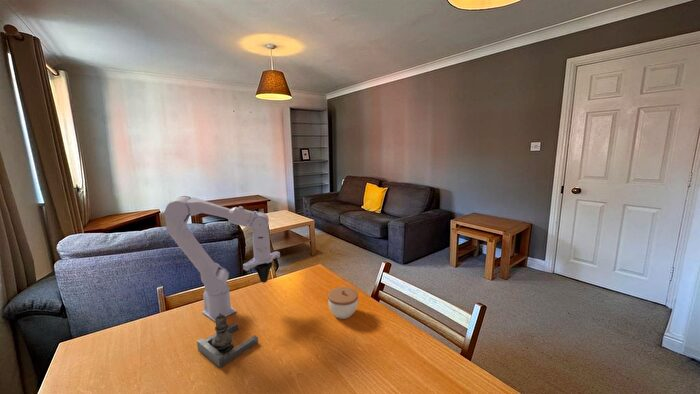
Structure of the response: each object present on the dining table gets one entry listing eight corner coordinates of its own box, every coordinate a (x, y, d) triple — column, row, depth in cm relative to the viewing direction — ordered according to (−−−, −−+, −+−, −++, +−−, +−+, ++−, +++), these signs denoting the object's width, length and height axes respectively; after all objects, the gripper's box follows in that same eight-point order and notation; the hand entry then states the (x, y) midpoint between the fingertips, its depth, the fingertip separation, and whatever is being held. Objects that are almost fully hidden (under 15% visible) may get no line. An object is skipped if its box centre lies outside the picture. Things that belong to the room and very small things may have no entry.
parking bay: (197, 349, 85) (196, 340, 85) (235, 327, 95) (235, 319, 95) (219, 368, 78) (218, 358, 78) (258, 342, 88) (257, 334, 88)
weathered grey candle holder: (226, 358, 82) (222, 320, 80) (208, 354, 83) (204, 318, 81) (238, 344, 88) (235, 308, 85) (221, 341, 89) (217, 306, 86)
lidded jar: (358, 306, 108) (359, 283, 106) (356, 324, 97) (357, 299, 95) (330, 304, 109) (330, 281, 107) (325, 322, 98) (325, 297, 97)
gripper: (250, 255, 94) (253, 293, 97) (284, 243, 106) (286, 277, 108) (238, 250, 98) (241, 287, 101) (272, 239, 110) (274, 272, 112)
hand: (263, 281), depth 105 cm, fingers closed
